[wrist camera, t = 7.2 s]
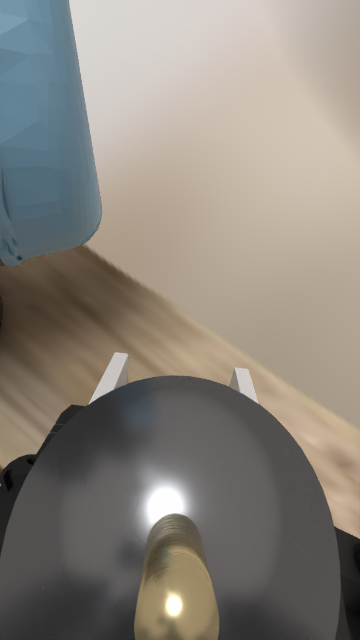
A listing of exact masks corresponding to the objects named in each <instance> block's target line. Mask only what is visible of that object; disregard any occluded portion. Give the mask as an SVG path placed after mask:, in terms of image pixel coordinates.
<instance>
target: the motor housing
mask: <svg viewBox="0 0 360 640" xmlns="http://www.w3.org/2000/svg"><path fill="white" fill-rule="evenodd" d="M340 595H341V587H340V561H339V553H338V545H337V538H336V533H335V529H334V524H333V520H332V516H331V512H330V509H329V506H328V503H327V500H326V497H325V494H324V491H323V489H322V487H321V484H320V482H319V480H318V478H317V476H316V474H315V471H314V469H313V467H312V466H311V464H310V462H309V461H308V459H307V457H306V456H305V454H304V452H303V451H302V449H301V448H300V446H299V445H298V444H297V442H296V441H295V440H294V438H293V437H292V436H291V434H290V433H289V432H288V431H287V430H286V429H285V428H284V426H283V425H282V424H281V423H280V422H279V421H278V420H277V419H276V418H275V417H274V416H273V415H272V414H270V413H269V412H268V411H267V410H266V409H264V408H263V407H262V406H261V405H260V404H258V403H257V402H255V401H253V400H252V399H250V398H249V397H247V396H246V395H244V394H243V393H240V392H238V391H236V390H234V389H232V388H230V387H228V386H226V385H223V384H220V383H217V382H214V381H210V380H207V379H201V378H196V377H191V376H161V377H152V378H148V379H143V380H138V381H135V382H132V383H129V384H126V385H124V386H121V387H118V388H116V389H114V390H112V391H110V392H108V393H106V394H104V395H102V396H100V397H99V398H97V399H96V400H94V401H93V402H91V403H90V404H88V405H87V406H85V407H84V408H83V409H82V410H80V411H79V412H78V413H77V414H76V415H75V416H73V417H72V418H71V419H70V420H69V421H68V422H67V423H66V424H65V425H64V426H63V427H62V428H61V429H60V430H59V431H58V432H57V433H56V435H55V436H54V437H53V438H52V439H51V440H50V442H49V443H48V444H47V446H46V447H45V449H44V450H43V451H42V453H41V454H40V455H39V457H38V458H37V460H36V462H35V463H34V465H33V467H32V469H31V470H30V472H29V474H28V475H27V477H26V479H25V481H24V483H23V486H22V488H21V490H20V492H19V494H18V497H17V499H16V501H15V504H14V507H13V510H12V513H11V516H10V519H9V522H8V525H7V528H6V533H5V537H4V542H3V547H2V551H1V556H0V640H335V636H336V631H337V626H338V619H339V607H340Z"/></svg>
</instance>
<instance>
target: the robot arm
mask: <svg viewBox="0 0 360 640" xmlns="http://www.w3.org/2000/svg"><path fill="white" fill-rule="evenodd" d="M101 216H102V206H101V198H100V192H99V186H98V180H97V173H96V167H95V161H94V155H93V148H92V142H91V136H90V130H89V124H88V117H87V111H86V105H85V99H84V93H83V87H82V81H81V74H80V68H79V62H78V55H77V50H76V43H75V37H74V31H73V24H72V18H71V12H70V7H69V0H0V266H3V265H6V266H10V267H15V266H18V265H20V264H22V263H23V262H24V260H25V259H28V258H33V257H37V256H41V255H46V254H50V253H54V252H59V251H63V250H67V249H72V248H76V247H78V246H80V245H82V244H84V243H86V242H87V241H88V240H90V238H91V237H92V236H93V234H94V233H95V232H96V231H97V229H98V227H99V224H100V221H101ZM1 320H2V304H1V298H0V326H1ZM126 384H128V354H125V353H117V352H115V353H114V355H113V357H112V359H111V361H110V363H109V365H108V367H107V369H106V371H105V373H104V375H103V377H102V379H101V381H100V382H99V384H98V386H97V388H96V390H95V392H94V394H93V396H92V398H91V400H90V402H89V404H90V403H91V402H93V401H94V400H96V399H97V398H99V397H100V396H102V395H104V394H106V393H108V392H110V391H112V390H114V389H116V388H118V387H121V386H124V385H126ZM230 388H232V389H234V390H236V391H238V392H240V393H243V394H244V395H246V396H247V397H249V398H250V399H252V400H253V401H255V402H257V403H258V400H257V397H256V393H255V390H254V387H253V384H252V380H251V377H250V374H249V371H248V369H242V368H234V372H233V376H232V379H231V383H230ZM258 404H259V403H258ZM84 407H85V406H78V405H71V406H70V407H68V408H67V409H66V410H65V411H63V412H62V413H61V415H60V417H59V418H58V420H57V422H56V424H55V425H54V426H53V428H52V430H51V431H50V434H49V435H48V436H47V438H46V439H45V441H44V443H43V444H42V446H41V448H40V449H39V451H38V452H37V454H36V455H33V454H28V455H25V456H21V457H19V458H17V459H15V460H14V461H12V462H11V463H9V464H8V465H7V466H6V467H5V468H4V469H3V471H2V473H1V474H0V484H1V486H0V556H1V551H2V547H3V542H4V537H5V533H6V528H7V525H8V522H9V519H10V516H11V513H12V510H13V507H14V504H15V501H16V499H17V497H18V494H19V492H20V490H21V488H22V486H23V483H24V481H25V479H26V477H27V475H28V474H29V472H30V470H31V469H32V467H33V465H34V463H35V462H36V460H37V458H38V457H39V455H40V454H41V453H42V451H43V450H44V449H45V447H46V446H47V444H48V443H49V442H50V440H51V439H52V438H53V437H54V436H55V435H56V433H57V432H58V431H59V430H60V429H61V428H62V427H63V426H64V425H65V424H66V423H67V422H68V421H69V420H70V419H71V418H72V417H73V416H75V415H76V414H77V413H78V412H79V411H80V410H82V409H83V408H84ZM334 529H335V533H336V538H337V545H338V553H339V561H340V587H341V595H340V607H339V619H338V626H337V631H336V636H335V640H360V539H359V538H357V537H355V536H353V535H350V534H348V533H346V532H344V531H342V530H340V529H338V528H336V527H334Z"/></svg>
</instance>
